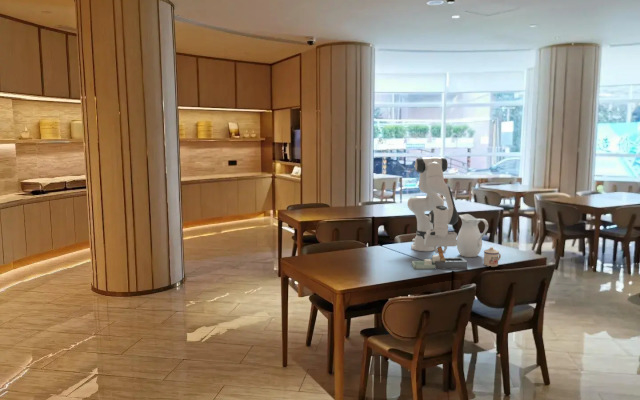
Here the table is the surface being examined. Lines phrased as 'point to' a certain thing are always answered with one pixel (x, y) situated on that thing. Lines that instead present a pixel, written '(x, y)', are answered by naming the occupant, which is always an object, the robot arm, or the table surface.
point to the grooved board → (451, 263)
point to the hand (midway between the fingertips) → (440, 253)
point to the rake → (441, 254)
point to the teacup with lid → (491, 257)
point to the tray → (422, 265)
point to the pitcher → (470, 236)
